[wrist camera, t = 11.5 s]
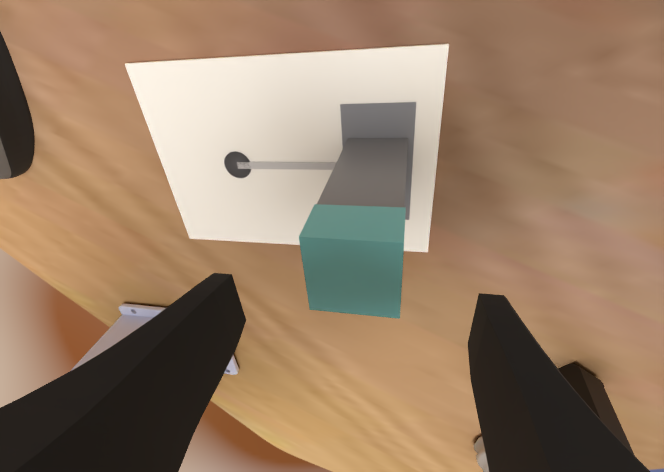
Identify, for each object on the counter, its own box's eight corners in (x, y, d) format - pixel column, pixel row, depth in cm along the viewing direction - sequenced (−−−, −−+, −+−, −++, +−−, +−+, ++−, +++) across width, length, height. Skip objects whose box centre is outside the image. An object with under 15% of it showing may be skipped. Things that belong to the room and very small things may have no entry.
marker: (349, 191, 19) (309, 309, 12) (347, 137, 18) (298, 236, 10) (405, 193, 19) (399, 318, 11) (409, 136, 17) (403, 242, 10)
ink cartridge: (537, 399, 27) (572, 526, 21) (516, 386, 27) (545, 511, 20) (599, 376, 24) (662, 515, 18) (576, 360, 24) (632, 497, 17)
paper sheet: (192, 236, 24) (189, 239, 24) (128, 62, 18) (123, 64, 18) (427, 249, 21) (427, 253, 21) (448, 43, 15) (448, 44, 14)
